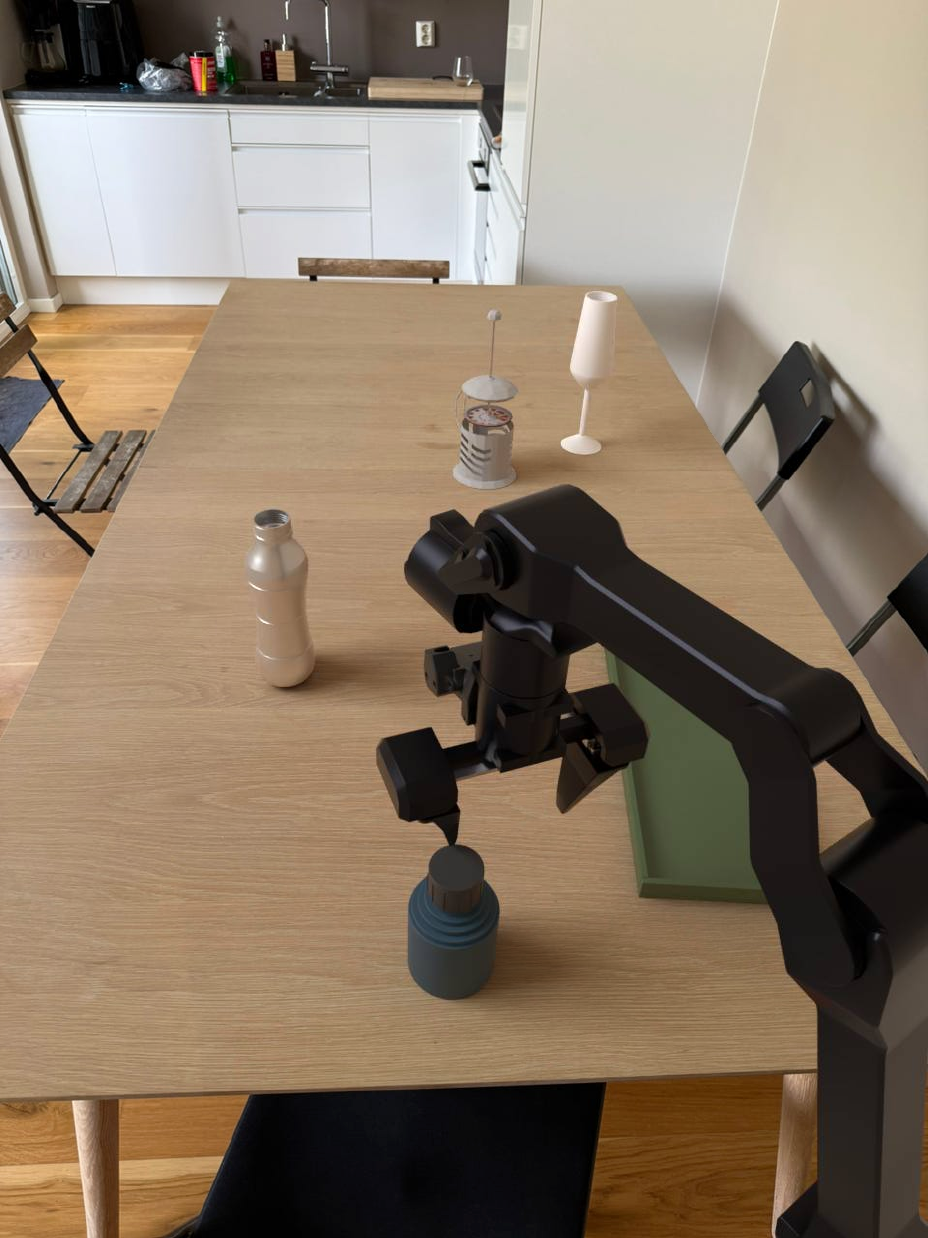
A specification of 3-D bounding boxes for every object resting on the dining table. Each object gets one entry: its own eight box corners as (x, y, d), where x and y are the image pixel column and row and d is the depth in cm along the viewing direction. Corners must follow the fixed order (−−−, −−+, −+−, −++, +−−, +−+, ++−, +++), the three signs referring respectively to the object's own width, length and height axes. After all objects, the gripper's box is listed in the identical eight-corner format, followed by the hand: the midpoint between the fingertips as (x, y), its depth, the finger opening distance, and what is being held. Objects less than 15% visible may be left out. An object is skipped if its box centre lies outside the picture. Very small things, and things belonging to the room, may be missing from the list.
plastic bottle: (248, 690, 96) (226, 532, 83) (269, 650, 101) (251, 497, 89) (306, 699, 95) (292, 541, 83) (324, 658, 100) (314, 505, 88)
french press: (480, 495, 131) (490, 327, 115) (432, 464, 138) (436, 302, 122) (529, 477, 136) (545, 313, 120) (481, 448, 143) (490, 290, 127)
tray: (813, 906, 77) (820, 893, 76) (638, 896, 77) (642, 883, 76) (731, 648, 105) (735, 635, 104) (603, 641, 105) (605, 627, 104)
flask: (507, 984, 70) (518, 897, 63) (422, 1011, 68) (425, 924, 61) (476, 911, 75) (484, 823, 68) (397, 933, 73) (396, 845, 66)
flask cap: (490, 905, 65) (492, 882, 64) (437, 920, 64) (438, 897, 62) (471, 861, 68) (473, 838, 67) (420, 875, 67) (421, 852, 65)
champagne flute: (555, 449, 144) (572, 299, 129) (567, 432, 149) (585, 286, 134) (595, 458, 142) (617, 306, 127) (606, 441, 147) (629, 293, 132)
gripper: (593, 576, 67) (569, 725, 76) (350, 624, 61) (358, 779, 70) (672, 669, 58) (634, 823, 68) (401, 734, 53) (401, 893, 62)
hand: (506, 825), depth 67 cm, fingers open, 9 cm apart
